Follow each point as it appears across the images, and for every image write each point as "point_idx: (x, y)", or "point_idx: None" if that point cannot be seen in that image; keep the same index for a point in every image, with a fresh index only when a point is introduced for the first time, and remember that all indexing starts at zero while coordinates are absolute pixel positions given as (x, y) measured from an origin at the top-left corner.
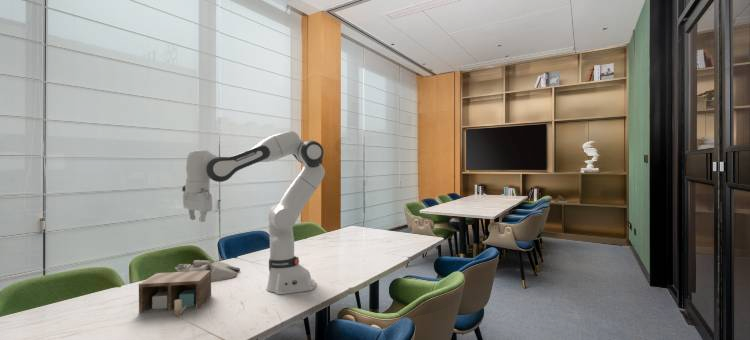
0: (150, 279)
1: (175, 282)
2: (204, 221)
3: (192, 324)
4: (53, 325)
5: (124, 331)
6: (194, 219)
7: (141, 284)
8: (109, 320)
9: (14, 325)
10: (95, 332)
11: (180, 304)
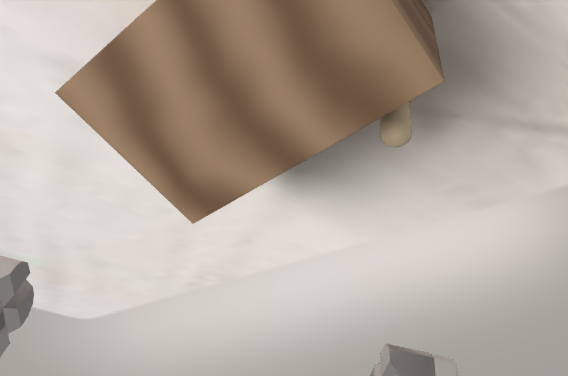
0: (159, 168)
1: (327, 147)
2: (450, 362)
3: (539, 131)
4: (114, 274)
5: (343, 237)
6: (27, 266)
7: (202, 217)
8: None
9: (36, 299)
10: (270, 263)
11: (410, 123)
